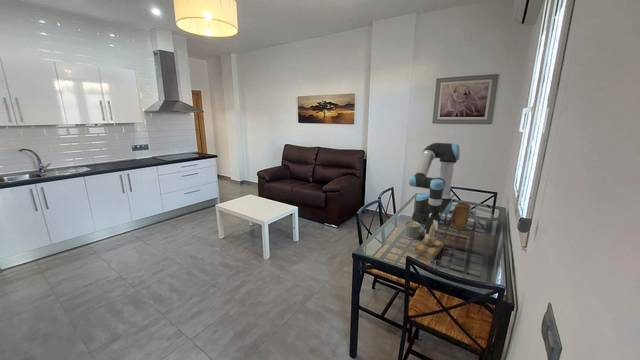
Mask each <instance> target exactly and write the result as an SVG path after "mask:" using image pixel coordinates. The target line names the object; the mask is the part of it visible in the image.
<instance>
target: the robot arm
mask: <svg viewBox="0 0 640 360" xmlns="http://www.w3.org/2000/svg"><path fill="white" fill-rule="evenodd" d="M460 155H461V153H460V145H459V144H458V143H450V142H449V143H448V142H434V143H431V144H428V145H427V146H426V147H425V148H424V149H423V150H422V152H421V159H420V161H419V164H418V166H417V168H416V172H415V173H414V174H413V175H412V174H411V175H410V176H409V180H408V185H409V186H410V187H413V188H421V189H427V190H428V189H429V192H420V193H417V194H416V197H415V205H414V207H415V209H414V211H413V213H412V216H411V221H415V222H418V223H419V225H425V226H424V227H423V228H424V230H425V231H424V234H425V235H424V238H428V239H429V238H430V231H431V229H430V228H431V225H435V231H437V230H438V228H439V227H438V225H439V222H440V221H441V220H440V219H441V217H440V213H439V212H442V213H441V214H449V213H450V211H451V208H452V205H453V201H454V199H453V198H451V197H452V195H450V193H451V187H452V181H453V172H454V167H455V166H454V165H455V164H457V162H458V161H459V160H460ZM435 159H439V163H440V168H439V169H440V171H439V176H438V177H429V176H428V174H429V171H430V168H431V165H432V162H433V160H435Z"/></svg>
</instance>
